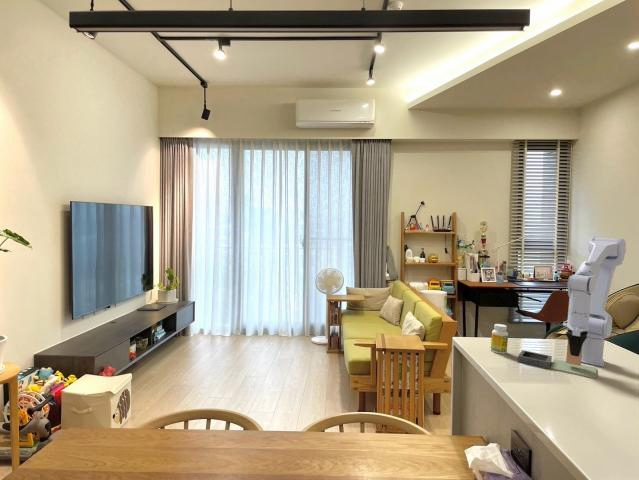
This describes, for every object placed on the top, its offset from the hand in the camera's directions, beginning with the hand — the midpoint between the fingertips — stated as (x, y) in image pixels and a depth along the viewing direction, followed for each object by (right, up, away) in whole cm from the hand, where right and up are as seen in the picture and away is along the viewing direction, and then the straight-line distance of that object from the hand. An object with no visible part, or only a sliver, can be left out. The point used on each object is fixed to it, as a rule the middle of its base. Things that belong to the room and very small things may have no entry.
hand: (575, 354), depth 129 cm
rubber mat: (0, -5, 0) cm, 5 cm away
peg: (0, -3, 0) cm, 3 cm away
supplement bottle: (-18, -3, +14) cm, 23 cm away
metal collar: (-10, -4, +5) cm, 12 cm away
